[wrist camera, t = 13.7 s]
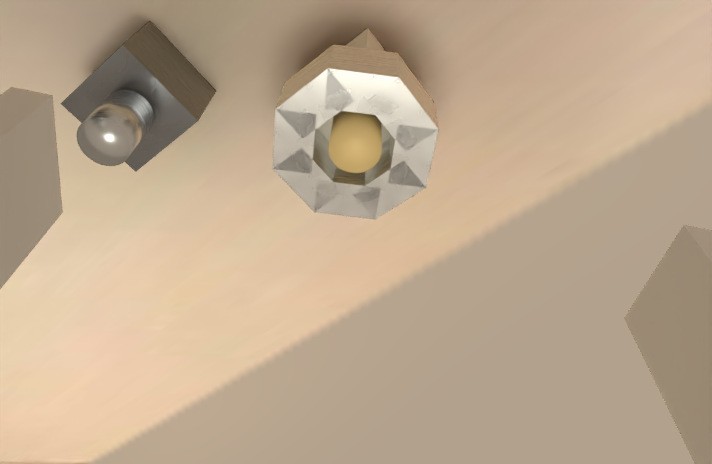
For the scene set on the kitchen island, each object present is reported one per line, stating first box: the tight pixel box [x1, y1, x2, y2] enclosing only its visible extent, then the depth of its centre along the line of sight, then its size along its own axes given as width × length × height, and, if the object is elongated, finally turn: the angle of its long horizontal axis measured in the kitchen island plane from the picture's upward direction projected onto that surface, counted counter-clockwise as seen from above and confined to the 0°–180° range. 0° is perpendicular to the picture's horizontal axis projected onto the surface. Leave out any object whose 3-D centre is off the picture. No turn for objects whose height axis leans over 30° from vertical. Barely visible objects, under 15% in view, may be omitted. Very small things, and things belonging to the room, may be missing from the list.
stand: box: [61, 21, 216, 171], centre depth 38 cm, size 6×6×9 cm
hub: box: [319, 28, 390, 173], centre depth 37 cm, size 6×6×9 cm
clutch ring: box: [273, 44, 439, 219], centre depth 35 cm, size 9×9×4 cm
